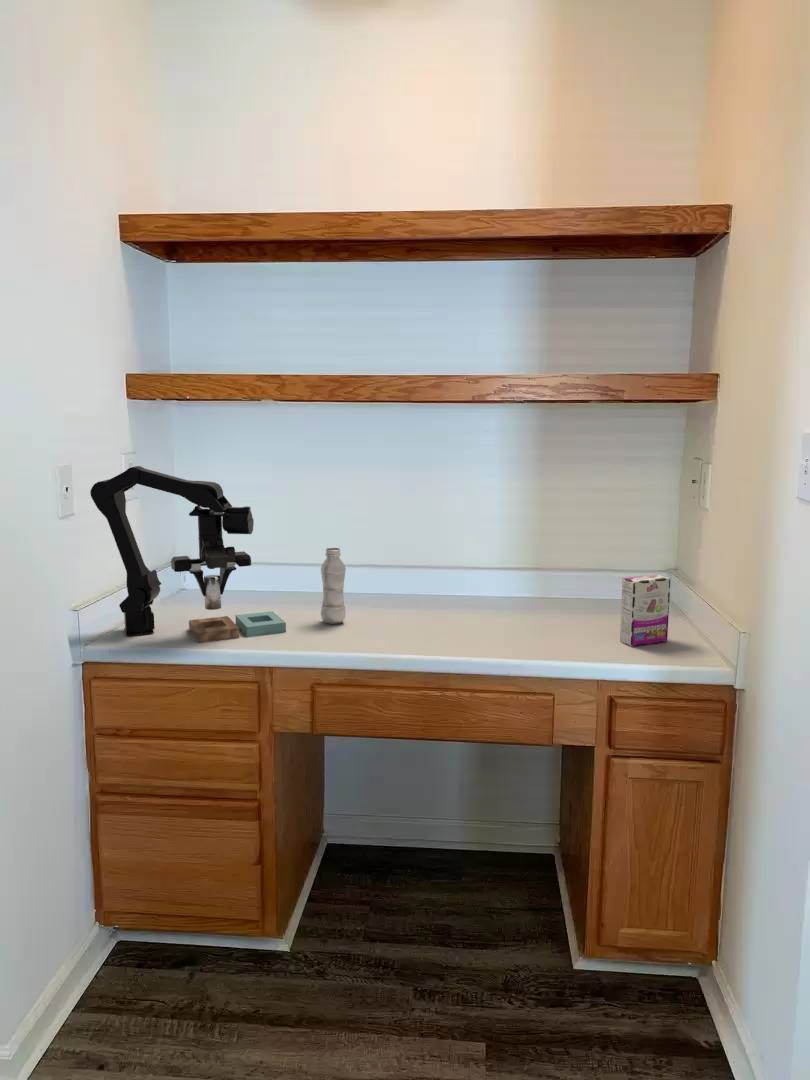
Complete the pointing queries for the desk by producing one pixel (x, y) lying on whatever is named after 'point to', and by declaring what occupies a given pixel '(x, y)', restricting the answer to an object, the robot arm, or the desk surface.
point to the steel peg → (212, 592)
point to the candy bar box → (645, 610)
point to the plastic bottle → (333, 587)
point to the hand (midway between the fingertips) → (212, 595)
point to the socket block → (213, 629)
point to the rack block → (260, 623)
